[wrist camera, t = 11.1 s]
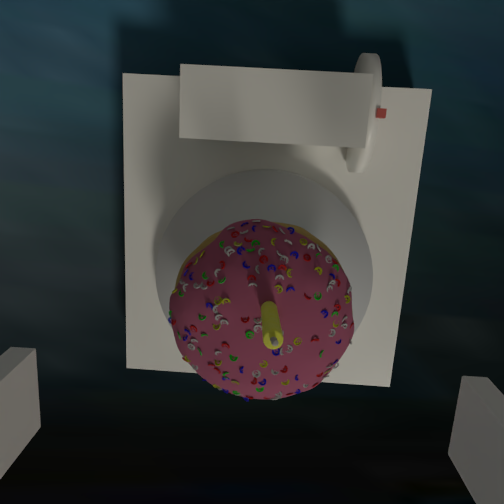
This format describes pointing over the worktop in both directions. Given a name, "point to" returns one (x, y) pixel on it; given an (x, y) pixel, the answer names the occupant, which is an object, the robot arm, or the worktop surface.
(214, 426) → the worktop surface
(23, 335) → the worktop surface
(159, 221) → the scale
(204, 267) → the cupcake
